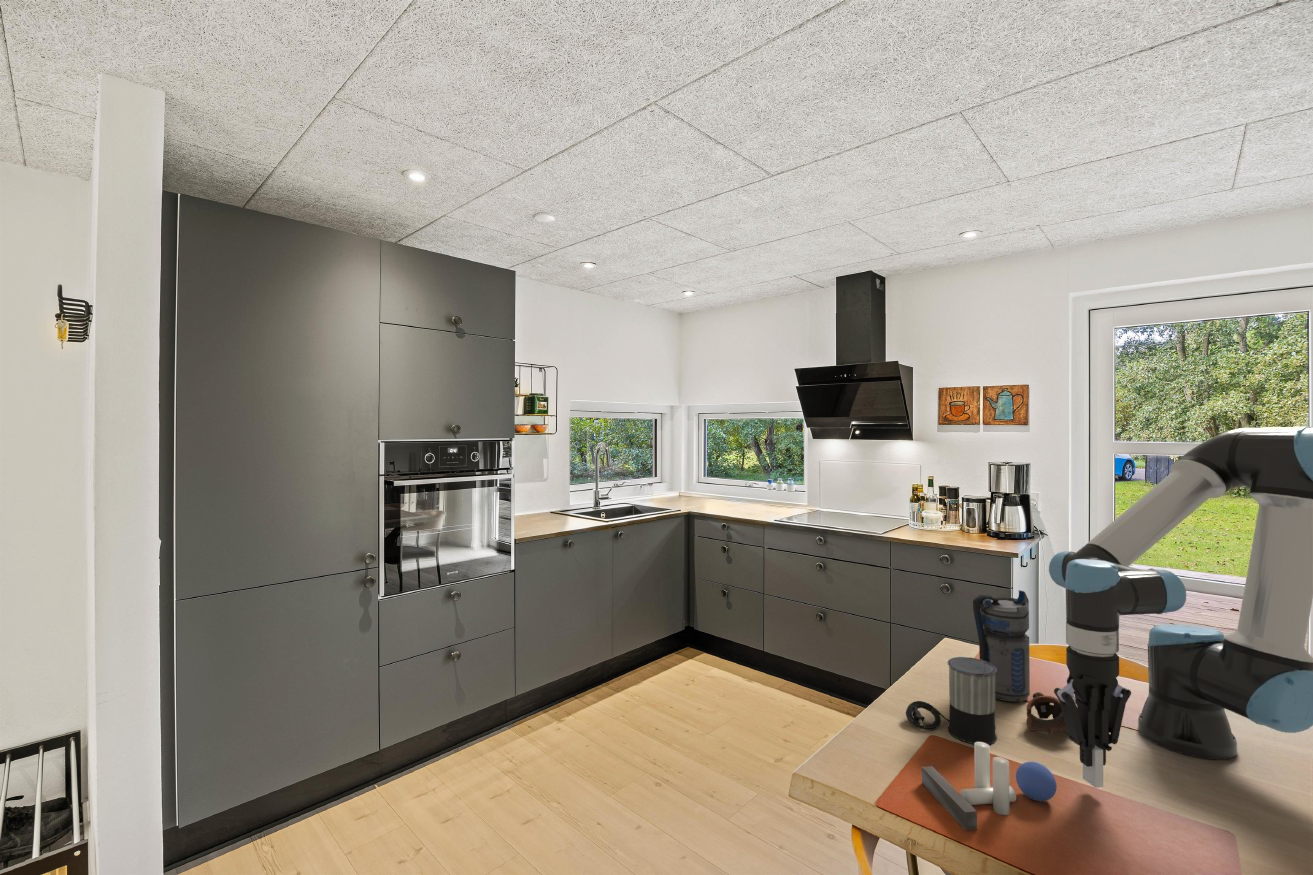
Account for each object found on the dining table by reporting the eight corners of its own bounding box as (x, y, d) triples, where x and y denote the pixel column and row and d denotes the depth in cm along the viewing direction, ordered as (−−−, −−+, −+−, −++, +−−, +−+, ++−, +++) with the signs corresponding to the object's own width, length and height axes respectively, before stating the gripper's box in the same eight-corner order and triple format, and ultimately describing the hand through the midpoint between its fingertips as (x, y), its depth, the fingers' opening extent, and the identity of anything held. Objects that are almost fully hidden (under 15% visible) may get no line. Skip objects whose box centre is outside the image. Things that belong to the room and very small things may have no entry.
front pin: (1006, 782, 105) (960, 786, 104) (1015, 790, 103) (969, 794, 102) (1006, 796, 105) (960, 799, 104) (1015, 804, 103) (969, 808, 102)
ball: (1003, 782, 107) (1032, 792, 107) (1027, 802, 101) (1058, 813, 101) (1014, 750, 107) (1043, 760, 108) (1039, 769, 101) (1070, 779, 102)
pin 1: (984, 788, 107) (984, 741, 107) (993, 796, 105) (992, 748, 105) (971, 789, 107) (971, 742, 107) (980, 797, 105) (979, 749, 105)
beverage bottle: (962, 687, 149) (962, 587, 148) (1013, 684, 150) (1013, 585, 149) (988, 705, 139) (987, 598, 138) (1042, 703, 140) (1042, 596, 139)
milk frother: (1007, 744, 122) (1007, 671, 122) (936, 751, 120) (935, 677, 120) (962, 711, 136) (962, 646, 136) (898, 717, 134) (897, 651, 134)
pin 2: (1003, 805, 102) (1002, 756, 102) (1012, 814, 100) (1012, 764, 100) (990, 806, 102) (989, 757, 102) (999, 815, 100) (998, 765, 100)
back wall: (932, 782, 109) (932, 765, 109) (977, 829, 96) (977, 811, 96) (921, 783, 109) (921, 766, 109) (965, 830, 96) (965, 812, 96)
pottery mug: (1094, 744, 122) (1081, 714, 120) (1048, 761, 124) (1035, 732, 122) (1058, 703, 134) (1046, 675, 132) (1017, 719, 135) (1004, 692, 134)
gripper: (1074, 659, 101) (1075, 798, 101) (1145, 655, 102) (1146, 792, 102) (1041, 643, 108) (1042, 773, 108) (1108, 640, 109) (1108, 767, 110)
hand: (1092, 782), depth 105 cm, fingers closed
